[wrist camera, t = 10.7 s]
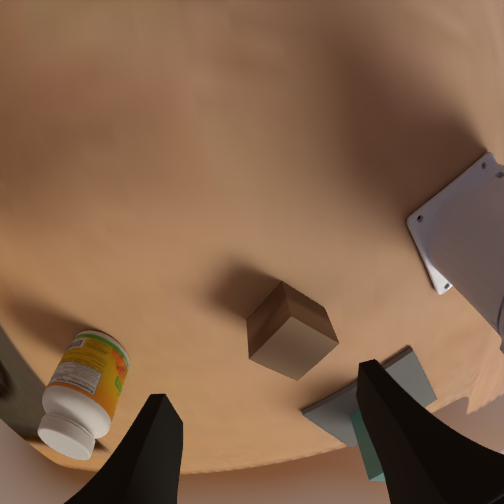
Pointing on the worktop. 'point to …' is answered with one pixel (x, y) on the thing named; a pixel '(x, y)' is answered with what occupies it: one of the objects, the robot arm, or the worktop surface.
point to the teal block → (366, 448)
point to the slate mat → (345, 402)
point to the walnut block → (289, 333)
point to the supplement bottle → (83, 394)
